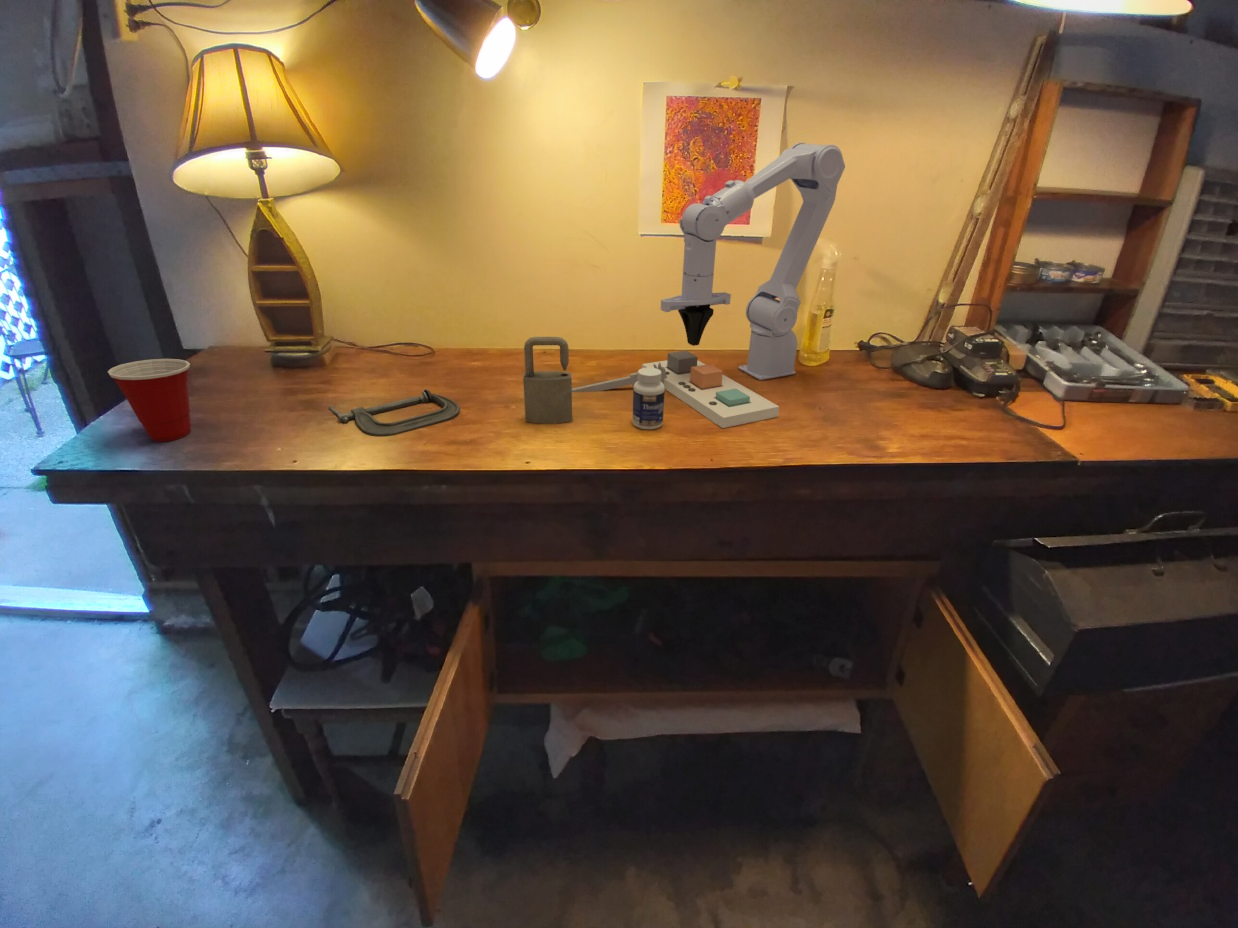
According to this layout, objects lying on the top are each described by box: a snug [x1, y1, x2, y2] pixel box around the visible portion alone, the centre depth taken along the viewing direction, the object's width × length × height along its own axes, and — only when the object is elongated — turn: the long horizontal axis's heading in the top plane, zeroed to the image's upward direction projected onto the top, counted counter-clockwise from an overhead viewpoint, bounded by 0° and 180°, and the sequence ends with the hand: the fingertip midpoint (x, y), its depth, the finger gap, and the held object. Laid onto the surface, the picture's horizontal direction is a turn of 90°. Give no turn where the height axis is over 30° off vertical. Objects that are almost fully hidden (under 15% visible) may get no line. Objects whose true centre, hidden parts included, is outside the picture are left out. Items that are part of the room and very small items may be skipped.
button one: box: [716, 389, 750, 407], centre depth 121 cm, size 4×4×3 cm
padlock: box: [522, 336, 573, 424], centre depth 113 cm, size 4×8×15 cm, turn 93°
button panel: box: [641, 359, 780, 429], centre depth 128 cm, size 12×30×2 cm, turn 26°
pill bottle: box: [632, 367, 666, 430], centre depth 113 cm, size 5×5×10 cm
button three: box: [690, 363, 724, 390], centre depth 127 cm, size 4×4×3 cm
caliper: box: [572, 361, 667, 393], centre depth 129 cm, size 20×1×6 cm, turn 99°
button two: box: [667, 350, 699, 375], centre depth 134 cm, size 4×4×3 cm
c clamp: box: [328, 388, 461, 437], centre depth 118 cm, size 20×17×3 cm
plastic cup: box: [107, 358, 192, 443], centre depth 106 cm, size 11×11×12 cm
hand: (693, 344), depth 129 cm, fingers closed
